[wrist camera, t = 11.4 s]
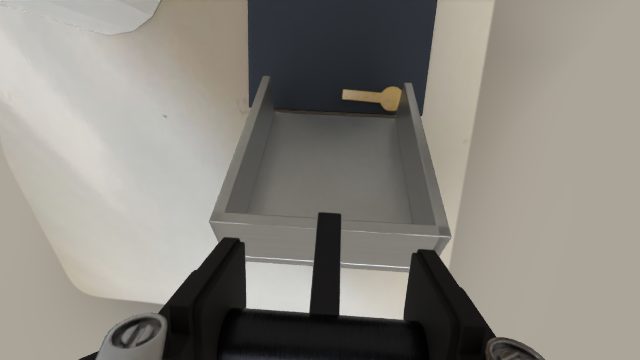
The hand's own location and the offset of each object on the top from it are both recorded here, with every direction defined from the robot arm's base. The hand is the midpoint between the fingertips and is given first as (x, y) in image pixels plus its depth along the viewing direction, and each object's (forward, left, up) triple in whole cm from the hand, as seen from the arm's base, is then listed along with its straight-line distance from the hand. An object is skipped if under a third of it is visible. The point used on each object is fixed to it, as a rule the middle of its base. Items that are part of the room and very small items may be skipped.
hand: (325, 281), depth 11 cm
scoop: (0, 0, -8) cm, 8 cm away
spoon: (+1, -8, -22) cm, 24 cm away
